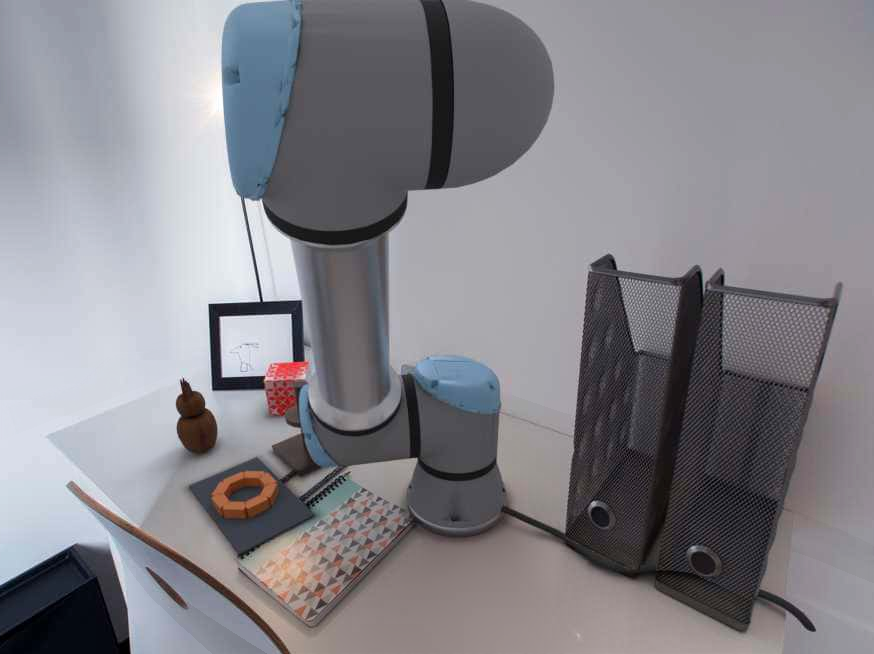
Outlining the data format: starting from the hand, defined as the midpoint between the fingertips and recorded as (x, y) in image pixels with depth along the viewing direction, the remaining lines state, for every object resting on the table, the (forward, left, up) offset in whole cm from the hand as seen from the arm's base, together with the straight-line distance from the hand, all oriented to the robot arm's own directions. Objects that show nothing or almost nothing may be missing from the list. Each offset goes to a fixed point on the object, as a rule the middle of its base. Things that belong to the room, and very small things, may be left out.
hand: (347, 284), depth 92 cm
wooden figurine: (+10, +28, -27) cm, 40 cm away
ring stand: (-5, +14, -27) cm, 31 cm away
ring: (-10, +28, -26) cm, 40 cm away
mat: (-10, +28, -27) cm, 40 cm away
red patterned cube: (+13, +8, -27) cm, 31 cm away
